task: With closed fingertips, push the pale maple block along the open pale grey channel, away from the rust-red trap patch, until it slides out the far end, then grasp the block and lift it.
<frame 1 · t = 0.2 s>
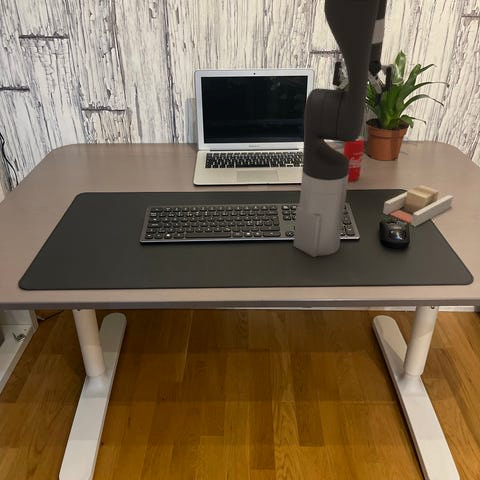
hand: (359, 104, 125), 22 cm above the table, tool pointing down, fingers open, 8 cm apart
beverage can: (349, 179, 140), on the table
smoothie: (311, 192, 132), on the table
channel: (417, 210, 123), on the table
maple block: (419, 209, 123), on the table
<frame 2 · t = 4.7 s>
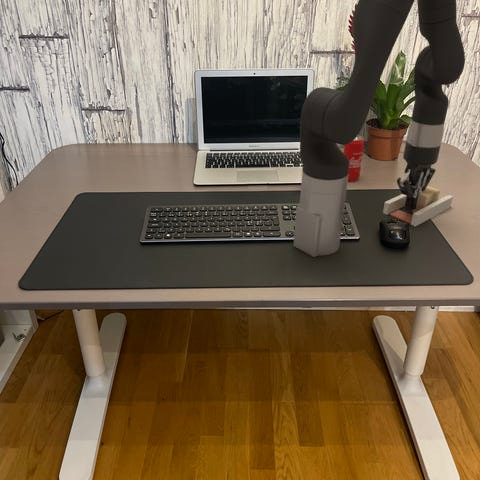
hand: (409, 209, 120), 2 cm above the table, tool pointing down, fingers closed
maple block: (420, 208, 124), on the table, touching gripper
everything else where it was.
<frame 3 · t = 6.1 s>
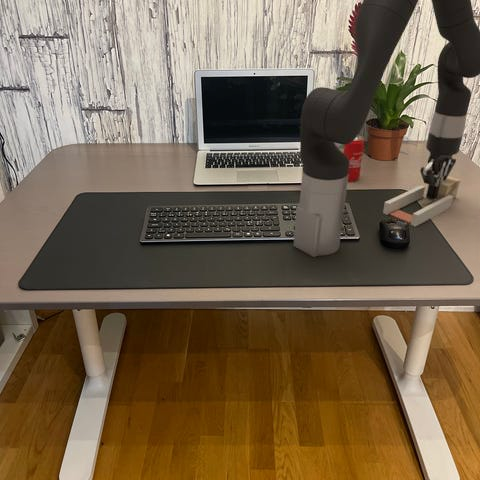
hand: (431, 197, 125), 2 cm above the table, tool pointing down, fingers closed
maple block: (441, 197, 129), on the table, touching gripper
everything else where it was.
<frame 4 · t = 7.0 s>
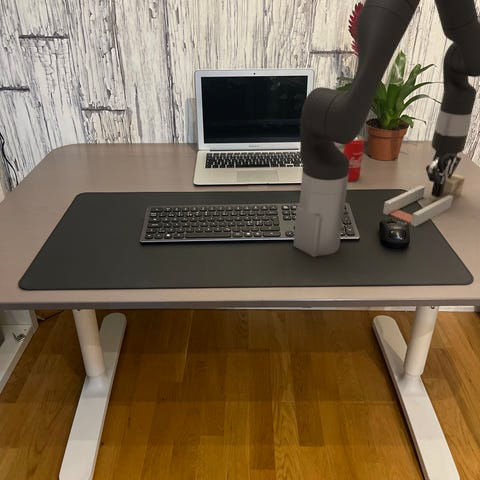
hand: (436, 195, 127), 2 cm above the table, tool pointing down, fingers closed
maple block: (445, 195, 131), on the table, touching gripper
everything else where it was.
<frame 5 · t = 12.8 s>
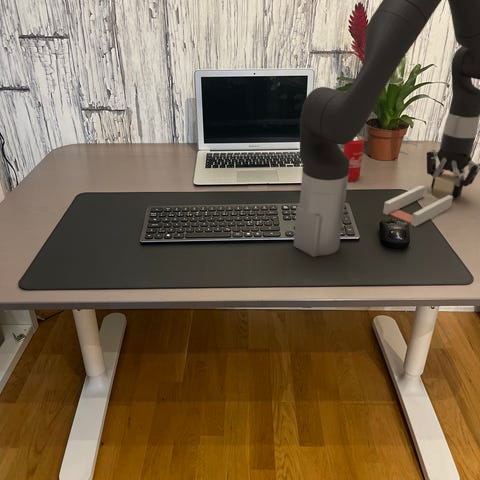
hand: (444, 194, 130), 0 cm above the table, tool pointing down, fingers closed on maple block, 5 cm apart
maple block: (446, 195, 131), on the table, touching gripper
everything else where it was.
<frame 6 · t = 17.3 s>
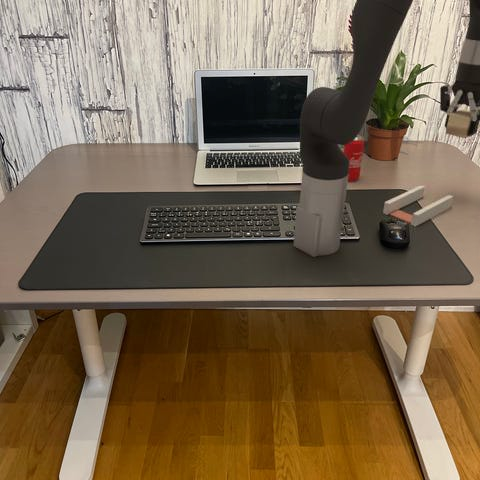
hand: (459, 132, 121), 17 cm above the table, tool pointing down, fingers closed on maple block, 5 cm apart
maple block: (461, 133, 122), point 17 cm above the table, touching gripper
everything else where it was.
at the end: maple block inside the target area (0.5 cm from its centre), point 16.8 cm above the table; the gripper is holding maple block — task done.
